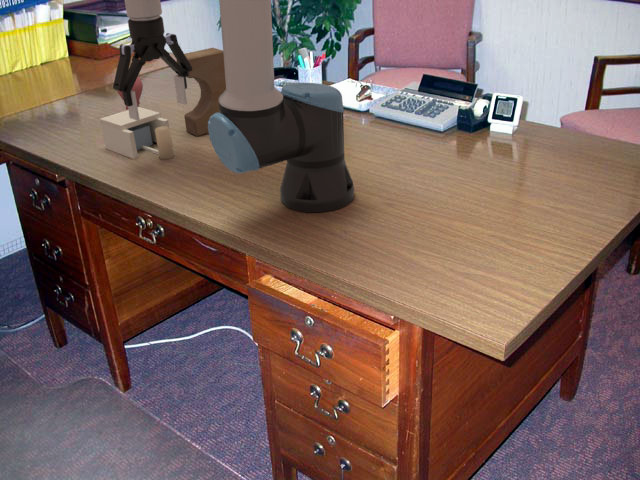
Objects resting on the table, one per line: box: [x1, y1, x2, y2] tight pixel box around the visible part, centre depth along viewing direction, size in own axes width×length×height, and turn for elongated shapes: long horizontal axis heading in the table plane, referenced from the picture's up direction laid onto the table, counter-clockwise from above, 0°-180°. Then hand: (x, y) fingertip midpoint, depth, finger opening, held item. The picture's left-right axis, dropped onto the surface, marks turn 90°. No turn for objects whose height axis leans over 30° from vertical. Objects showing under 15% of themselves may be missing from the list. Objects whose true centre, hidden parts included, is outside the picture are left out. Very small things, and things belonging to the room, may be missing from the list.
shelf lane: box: [99, 107, 170, 160], centre depth 175 cm, size 12×11×8 cm
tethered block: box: [127, 124, 175, 160], centre depth 172 cm, size 17×6×7 cm, turn 48°
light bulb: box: [116, 76, 144, 111], centre depth 196 cm, size 7×7×12 cm
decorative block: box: [175, 47, 226, 137], centre depth 181 cm, size 11×6×20 cm, turn 127°
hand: (159, 110), depth 165 cm, fingers open, 13 cm apart
